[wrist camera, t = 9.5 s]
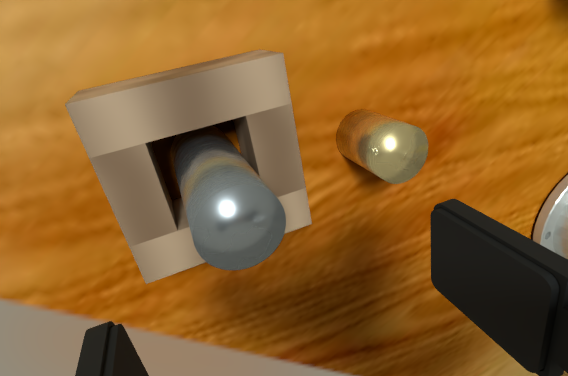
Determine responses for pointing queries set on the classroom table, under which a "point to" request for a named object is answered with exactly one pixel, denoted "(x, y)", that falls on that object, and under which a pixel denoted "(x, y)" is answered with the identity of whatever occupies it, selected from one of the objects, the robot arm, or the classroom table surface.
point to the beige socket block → (178, 119)
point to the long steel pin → (225, 201)
